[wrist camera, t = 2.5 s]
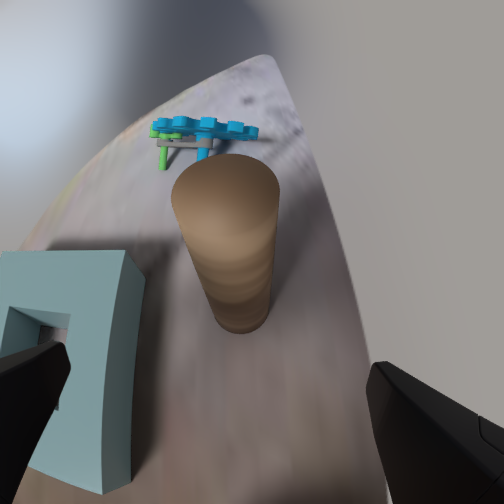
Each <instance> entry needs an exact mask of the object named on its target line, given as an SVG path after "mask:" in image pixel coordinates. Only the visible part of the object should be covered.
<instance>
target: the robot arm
mask: <svg viewBox="0 0 504 504" xmlns="http://www.w3.org/2000/svg"><path fill="white" fill-rule="evenodd" d="M70 371H71V363H70V360H69V357H68V354H67V350H66V347H65V345H64V344H63V343H62V342H58V341H54V340H52V341H49V342H46V343H43V344H40V345H37V346H34V347H31V348H28V349H25V350H22V351H20V352H17V353H14V354H11V355H8V356H5V357H2V358H0V504H12V502H13V500H14V497H15V495H16V492H17V490H18V487H19V485H20V482H21V480H22V478H23V475H24V473H25V471H26V468H27V466H28V464H29V461H30V459H31V457H32V455H33V453H34V451H35V448H36V446H37V444H38V442H39V440H40V438H41V436H42V434H43V432H44V430H45V428H46V426H47V424H48V422H49V420H50V418H51V416H52V414H53V412H54V410H55V408H56V405H57V403H58V401H59V398H60V396H61V393H62V391H63V388H64V386H65V383H66V381H67V379H68V376H69V374H70ZM366 395H367V400H368V406H369V411H370V417H371V422H372V428H373V433H374V438H375V442H376V445H377V449H378V452H379V455H380V459H381V462H382V466H383V469H384V473H385V476H386V480H387V483H388V487H389V491H390V495H391V498H392V502H393V504H504V428H502V427H500V426H498V425H496V424H494V423H492V422H490V421H489V420H487V419H485V418H483V417H482V416H478V414H476V413H474V412H473V411H471V410H469V409H467V408H466V407H464V406H462V405H461V404H459V403H457V402H455V401H454V400H452V399H450V398H448V397H447V396H445V395H443V394H442V393H440V392H438V391H437V390H435V389H433V388H431V387H430V386H428V385H426V384H425V383H423V382H421V381H419V380H418V379H416V378H415V377H413V376H411V375H409V374H408V373H406V372H404V371H403V370H401V369H399V368H398V367H396V366H394V365H393V364H391V363H389V362H388V361H382V362H375V363H373V365H372V367H371V370H370V374H369V377H368V381H367V385H366Z"/></svg>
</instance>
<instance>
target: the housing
mask: <svg viewBox="0 0 504 504" xmlns="http://www.w3.org/2000/svg"><path fill="white" fill-rule="evenodd" d="M145 281H146V278H145V277H144V275H143V274H142V273H141V271H140V270H139V268H138V267H137V266H136V264H135V263H134V261H133V260H132V259H131V257H130V256H129V254H128V253H127V251H126V250H67V251H3V252H2V254H1V257H0V358H2V357H5V356H8V355H11V354H14V353H17V352H20V351H22V350H25V349H28V348H31V347H34V346H37V345H38V339H39V333H40V328H41V325H43V326H49V327H55V328H62V329H68V332H67V338H66V345H65V347H66V350H67V354H68V357H69V360H70V363H71V371H70V374H69V376H68V379H67V381H66V383H65V386H64V388H63V391H62V393H61V396H60V398H59V406H57V405H56V408H55V410H54V412H53V414H52V416H51V418H50V420H49V422H48V424H47V426H46V428H45V430H44V432H43V434H42V436H41V438H40V440H39V442H38V444H37V446H36V448H35V451H34V453H33V455H32V457H31V459H30V461H29V464H28V466H29V467H31V468H33V469H36V470H38V471H40V472H42V473H44V474H47V475H49V476H51V477H54V478H56V479H59V480H61V481H64V482H66V483H69V484H72V485H74V486H77V487H80V488H83V489H86V490H89V491H92V492H95V493H98V494H101V495H103V494H106V493H108V492H110V491H113V490H115V489H118V488H120V487H122V486H124V485H127V484H129V483H131V418H132V398H133V383H134V371H135V359H136V349H137V340H138V331H139V323H140V315H141V308H142V301H143V294H144V288H145Z"/></svg>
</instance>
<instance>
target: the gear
mask: <svg viewBox="0 0 504 504" xmlns="http://www.w3.org/2000/svg"><path fill="white" fill-rule="evenodd" d="M258 131H259V128H257V127H253V126H244V123H242V122H236V121H228V124H225V123H219V122H217V118H211V117H201V120H196V119H192V118H189V117H186V116H175V117H173V119H168V118H158V121H153V124H151V128H150V136H149V137H151V138H161V139H157V146H158V147H161V152H160V162H159V170H166V163H167V154H168V147H178V148H198V154H197V161H199V160H202V159H204V158H207V157H208V154H209V149H212V147H213V139H214V138H218V139H221V140H231V139H236V140H242V141H247V140H248V139H251V140H257V137H258ZM160 133H165V134H160ZM189 135H194V136H196V143H188V142H173V140H170V139H171V138H173V139H182V136H189Z"/></svg>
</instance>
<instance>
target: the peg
mask: <svg viewBox="0 0 504 504" xmlns="http://www.w3.org/2000/svg"><path fill="white" fill-rule="evenodd" d="M279 195H280V188H279V183H278V180H277V178H276V176H275V174H274V173H273V172H272V170H271V169H270V168H269V167H268V166H266V165H265V164H264V163H262V162H261V161H259V160H257V159H255V158H252V157H249V156H245V155H240V154H219V155H214V156H210V157H207V158H204V159H202V160H199V161H197V162H196V163H194V164H192V165H191V166H189V167H188V168H187V169H186V170H184V171H183V172H182V174H181V175H180V176H179V177H178V179H177V180H176V182H175V184H174V186H173V189H172V194H171V203H172V207H173V210H174V213H175V216H176V218H177V221H178V224H179V227H180V229H181V232H182V235H183V238H184V240H185V243H186V246H187V248H188V251H189V253H190V256H191V259H192V261H193V264H194V266H195V269H196V272H197V274H198V277H199V279H200V282H201V284H202V287H203V289H204V292H205V294H206V297H207V299H208V301H209V304H210V306H211V309H212V311H213V314H214V316H215V318H216V320H217V322H218V323H219V325H220V326H221V327H222V328H224V329H225V330H227V331H229V332H231V333H235V334H246V333H250V332H252V331H255V330H256V329H258V328H259V327H260V326H261V325H262V324H263V323H264V321H265V320H266V318H267V315H268V311H269V301H270V291H271V282H272V272H273V261H274V251H275V240H276V229H277V218H278V207H279Z"/></svg>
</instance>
